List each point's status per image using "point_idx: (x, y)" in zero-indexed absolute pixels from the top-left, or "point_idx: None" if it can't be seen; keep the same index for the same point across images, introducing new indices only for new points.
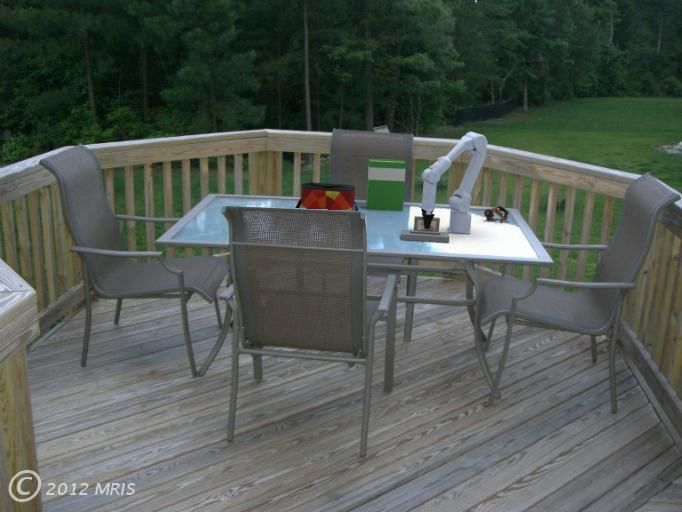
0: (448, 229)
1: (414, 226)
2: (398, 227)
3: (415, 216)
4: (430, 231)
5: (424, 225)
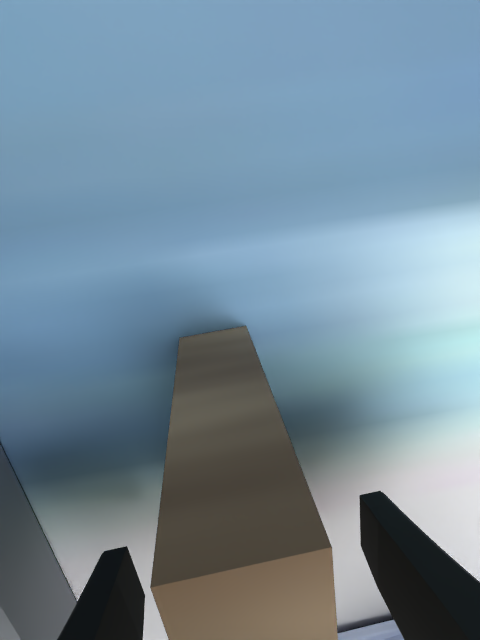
0: (395, 632)
1: (173, 392)
2: (420, 35)
3: (287, 578)
4: (3, 633)
5: (73, 616)
